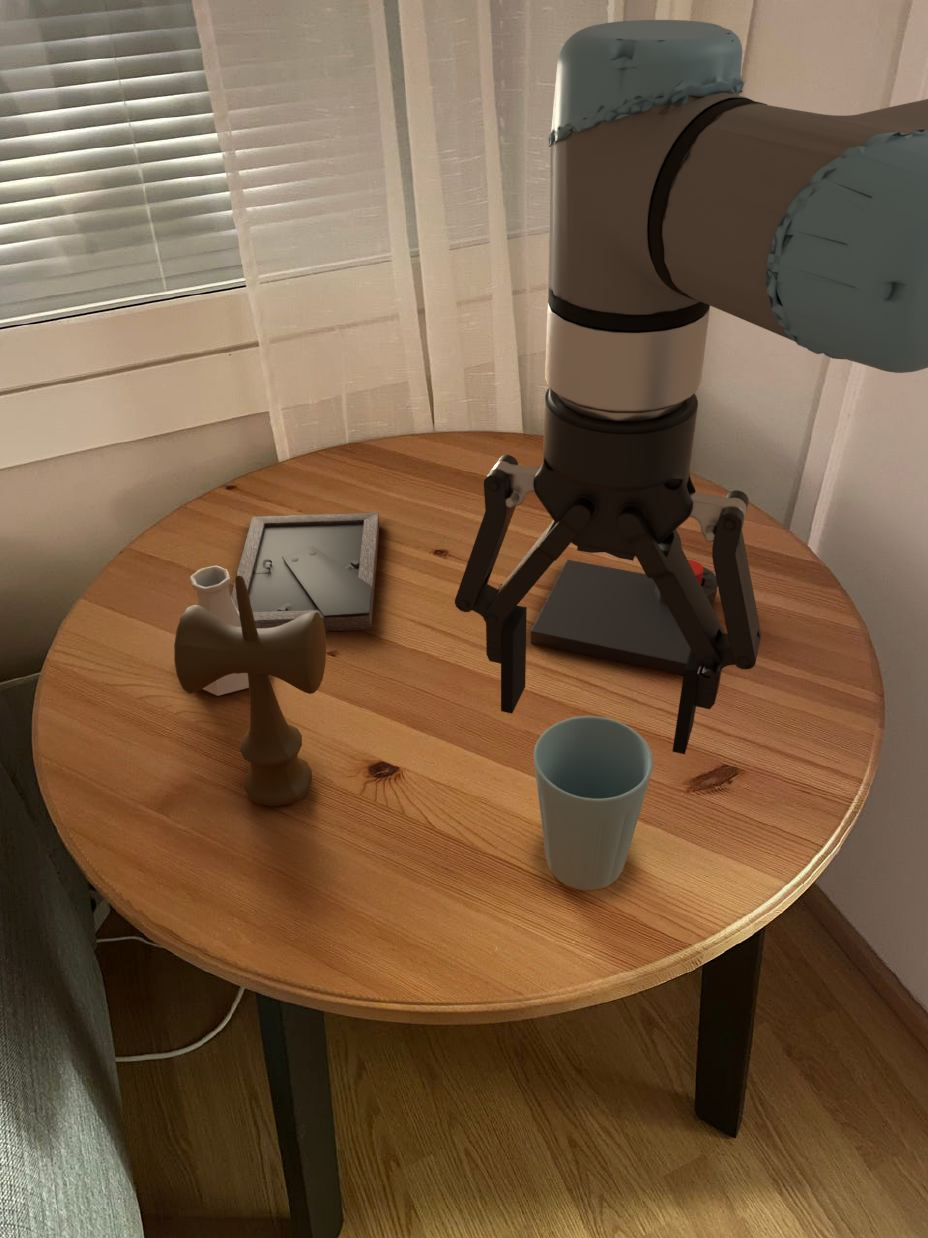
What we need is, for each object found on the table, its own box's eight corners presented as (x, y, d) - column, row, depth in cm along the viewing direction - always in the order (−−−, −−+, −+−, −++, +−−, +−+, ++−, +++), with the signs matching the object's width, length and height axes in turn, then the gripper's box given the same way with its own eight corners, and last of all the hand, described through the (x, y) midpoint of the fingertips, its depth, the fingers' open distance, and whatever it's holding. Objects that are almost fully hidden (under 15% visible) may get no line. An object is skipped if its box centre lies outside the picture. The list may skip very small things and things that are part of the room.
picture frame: (371, 629, 93) (379, 524, 107) (369, 612, 92) (378, 508, 106) (227, 634, 93) (254, 529, 107) (223, 617, 91) (251, 513, 106)
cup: (542, 809, 75) (546, 706, 69) (645, 828, 73) (659, 725, 67) (520, 891, 69) (522, 787, 63) (631, 914, 68) (645, 810, 61)
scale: (718, 594, 96) (722, 568, 94) (693, 678, 86) (698, 651, 85) (568, 566, 100) (569, 541, 98) (530, 643, 91) (530, 616, 89)
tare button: (703, 577, 94) (705, 562, 92) (698, 593, 92) (700, 577, 91) (675, 572, 94) (677, 557, 93) (670, 588, 92) (672, 572, 91)
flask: (174, 666, 89) (149, 574, 83) (245, 633, 93) (227, 542, 87) (213, 708, 85) (191, 614, 79) (287, 671, 88) (270, 578, 82)
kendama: (228, 756, 80) (179, 548, 68) (347, 760, 80) (319, 550, 67) (208, 814, 75) (151, 601, 63) (334, 819, 75) (302, 604, 63)
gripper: (869, 386, 49) (789, 719, 62) (434, 333, 55) (448, 645, 69) (860, 457, 43) (775, 806, 57) (378, 389, 50) (405, 716, 63)
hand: (595, 718), depth 63 cm, fingers open, 10 cm apart
